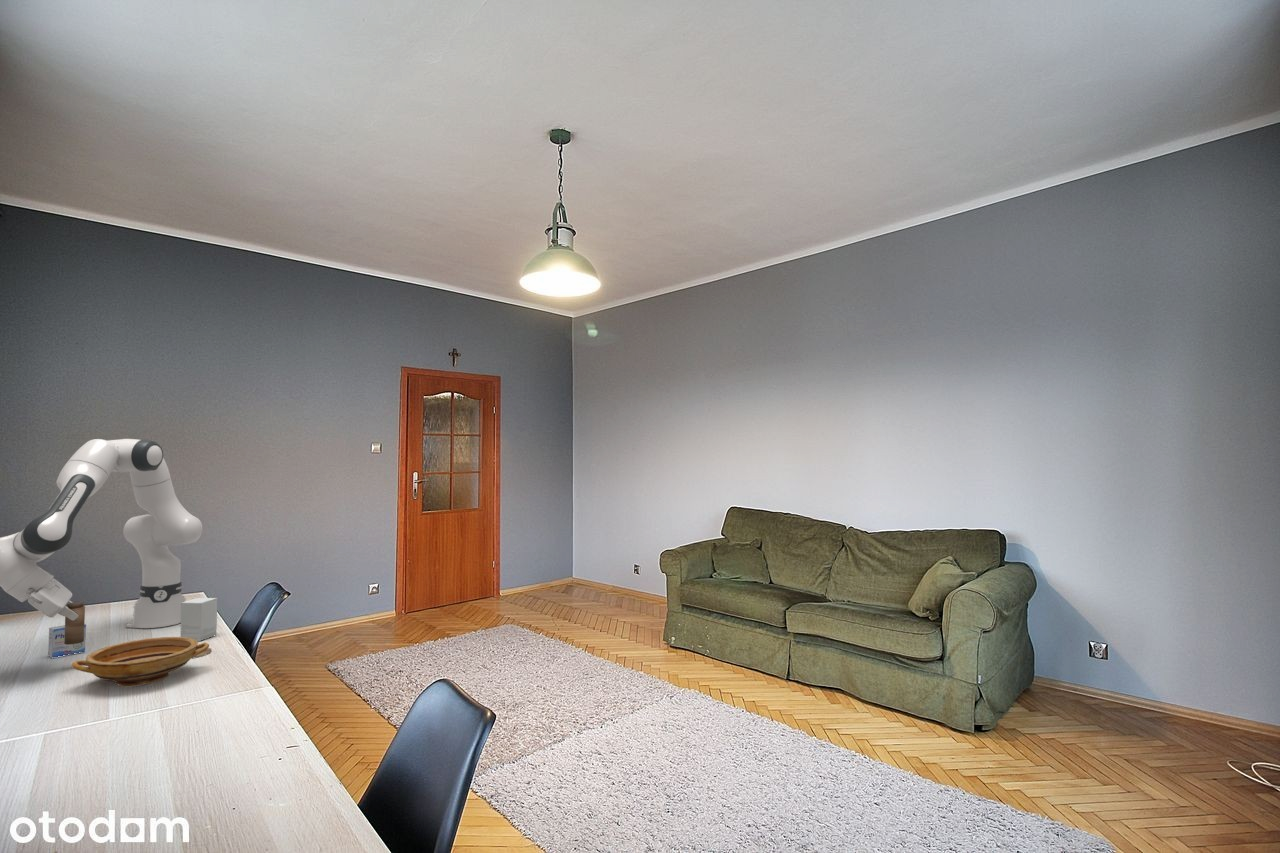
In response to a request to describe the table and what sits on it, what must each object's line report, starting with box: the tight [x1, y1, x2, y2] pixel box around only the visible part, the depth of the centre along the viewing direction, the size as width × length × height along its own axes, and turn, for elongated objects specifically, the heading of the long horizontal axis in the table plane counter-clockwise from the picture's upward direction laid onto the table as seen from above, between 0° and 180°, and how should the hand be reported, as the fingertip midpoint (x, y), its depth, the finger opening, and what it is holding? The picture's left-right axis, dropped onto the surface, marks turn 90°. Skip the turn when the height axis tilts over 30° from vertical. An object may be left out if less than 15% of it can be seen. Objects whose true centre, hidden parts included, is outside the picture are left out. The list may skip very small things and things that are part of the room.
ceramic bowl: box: [71, 636, 210, 687], centre depth 174 cm, size 30×24×8 cm
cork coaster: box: [195, 647, 212, 658], centre depth 194 cm, size 10×10×1 cm
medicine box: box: [47, 623, 87, 659], centre depth 194 cm, size 8×4×9 cm, turn 143°
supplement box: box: [179, 597, 218, 642], centre depth 211 cm, size 7×7×13 cm
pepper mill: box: [64, 601, 86, 645], centre depth 182 cm, size 4×4×11 cm
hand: (78, 615), depth 183 cm, fingers closed on pepper mill, 4 cm apart
